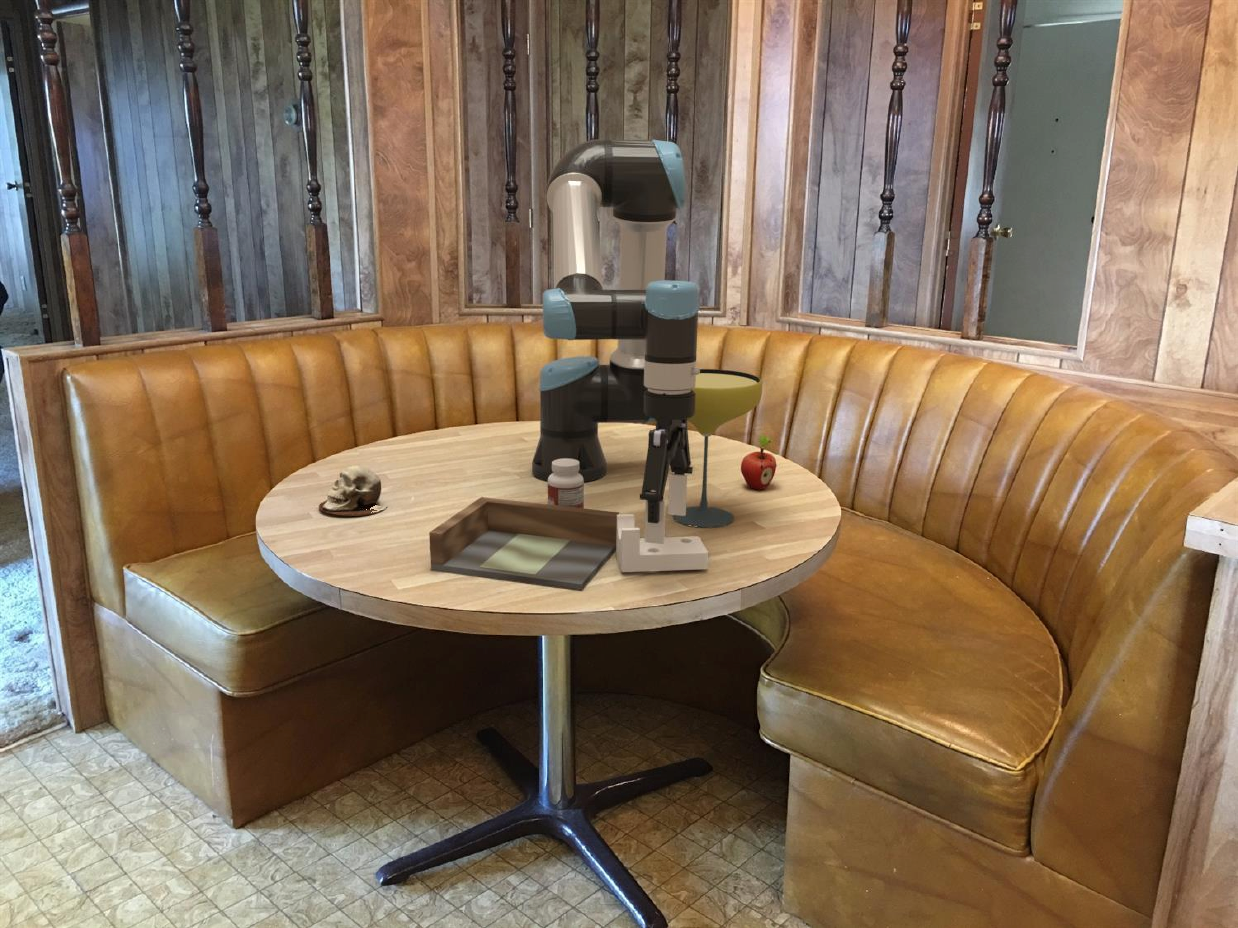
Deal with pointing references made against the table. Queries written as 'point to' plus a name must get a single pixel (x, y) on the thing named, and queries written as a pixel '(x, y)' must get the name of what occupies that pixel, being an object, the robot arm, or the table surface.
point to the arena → (525, 542)
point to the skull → (353, 493)
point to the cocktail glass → (714, 406)
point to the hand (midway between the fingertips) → (666, 528)
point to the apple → (759, 467)
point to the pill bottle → (566, 484)
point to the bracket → (656, 550)
